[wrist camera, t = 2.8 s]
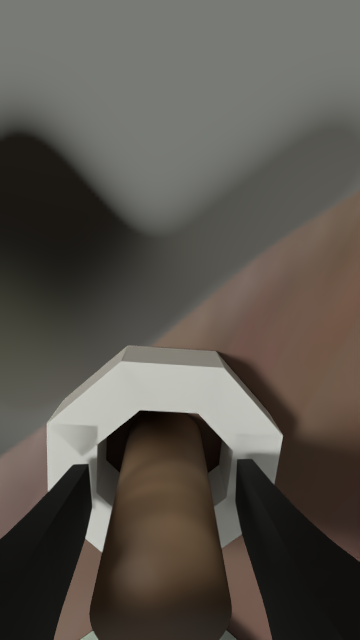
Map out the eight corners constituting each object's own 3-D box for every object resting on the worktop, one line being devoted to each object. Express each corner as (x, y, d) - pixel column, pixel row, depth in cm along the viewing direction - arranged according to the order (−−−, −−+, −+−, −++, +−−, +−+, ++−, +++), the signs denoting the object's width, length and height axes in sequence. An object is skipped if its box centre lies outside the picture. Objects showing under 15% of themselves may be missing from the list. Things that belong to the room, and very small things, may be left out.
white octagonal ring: (175, 304, 13) (177, 313, 11) (300, 448, 15) (320, 478, 13) (21, 435, 14) (-3, 464, 12) (155, 553, 16) (154, 596, 14)
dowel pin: (168, 393, 14) (168, 532, 7) (216, 444, 14) (259, 615, 8) (112, 439, 14) (59, 612, 7) (161, 485, 15) (154, 685, 8)
